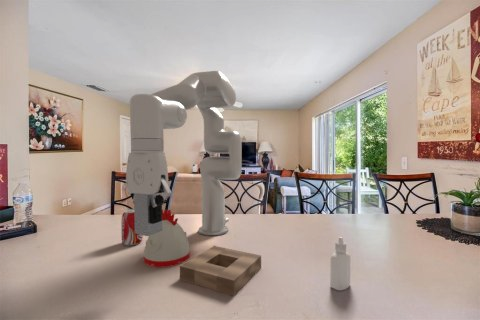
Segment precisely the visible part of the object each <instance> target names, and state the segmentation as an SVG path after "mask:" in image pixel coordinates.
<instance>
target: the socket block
mask: <svg viewBox="0 0 480 320" xmlns="http://www.w3.org/2000/svg"><path fill="white" fill-rule="evenodd" d="M261 269H262V255H261V254H256V253H251V252H247V251H243V250H241V251H240V250H236V249H231V248H226V247H221V246H217V245H213V246H212V247H210V248H208V249H207V250H205V251H203V252H202V253H201V252H200V253H199V254H197V255H196V256H194V257H192V258H191V259H188V260H186V261H185V262H183V263H181V264H180V265H179V280H181V281H183V282H188V283H190V284H193V285H197V286H201V287H203V288H207V289H210V290H214V291H217V292H219V293H224V294H226V295H229V296H233V297H234V296H236V295H237V293H239V292H240V291H241V289H242V288H243V287H245V286H246V284H247V283H248V282H249V281H250V280H251V279H252V278H253V277H254V276H255V275H256V274H257V273H258V272H259V270H261Z"/></svg>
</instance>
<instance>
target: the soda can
mask: <svg viewBox="0 0 480 320" xmlns="http://www.w3.org/2000/svg"><path fill="white" fill-rule="evenodd" d="M143 237H144V235H140V234H136V233H135V216H134V208H129V209H125V210H123V213H122V214H121V243H122V245H125V246H128V247H132V246H137V245H139V244H140V243H141V242H143Z"/></svg>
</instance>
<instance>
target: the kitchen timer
mask: <svg viewBox="0 0 480 320" xmlns="http://www.w3.org/2000/svg"><path fill="white" fill-rule="evenodd" d="M174 218H175V213H173V214H172V210H171V209H167V208H166V209H164V210H163V208H162V231H160V232H158V233H155V234H153V235H150V236H147V239H146V240H145V245H144V247H145V248H144V249H143V262H144V264H146V265H148V266H150V267H154V268H165V267H166V268H167V267H173V266H177V265H179V264H180V265H181V264H184V263H185V262H187V261H188V260H189V258H190V257H191V252H190V251H191V248H190V244H189V240H188V237H187V232H186V231H184V229H183V227H182V226H181V225H180V224H179V223H178V220H179V218H175V219H174Z"/></svg>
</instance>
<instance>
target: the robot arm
mask: <svg viewBox="0 0 480 320" xmlns="http://www.w3.org/2000/svg"><path fill="white" fill-rule="evenodd" d="M236 101H237V95H236V90H235V88H234V86H233V85H232V83H231V82H230V80H229V78H227V77H226V76H225V74H224V73H223V72H221V71H218V70H211V71H209V70H208V71H199V72H193V73H191V74H189V75H188V76H186V77H185V78H184V79H183V80H181V81H180V82H178V83H177V84H175V85H172V86H169V87H166V88H164V89H162V90H159V91H155V92H153V93H152V94H148V93H138V94H137V93H136V94H134V95H132V96H130V100H129V121H130V122H129V126H130V131H129V132H130V152H129V153H128V157H127V160H126V162H127V163H126V174H125V189H126V192H127V193H128V194H129V196H130V198H132V203H133V205H134V194H143V195H150V198H151V203H152V207H150V223H151V224H154V223H157V222H160V221H162V209H163V206H164V205H165V202H166V201H167V200H168V198H170V196H172V194H173V193H172V191H171V189H170V186H169V172H168V163H167V161H168V160H167V156H166V153H165V152H164V150H165V149H164V144H165V143H164V142H165V141H164V140H165V139H164V130H172V129H173V130H174V129H180V128H181V127H183V126H184V125H185V123H186V121H187V119H188V118H187V117H188V115H187V114H188V113H187V110H191V109H193V108H195V107H197V109H198V110H199V112H200V114H201V116H202V120H203V148H204V150H205V152H206V153H209V154H228V155H229V156H206V157H204V158H203V159H201V161H200V164H199V171H200V177H201V186H202V187H201V190H202V191H201V195H202V196H201V198H202V199H201V202H202V203H201V211H202V212H201V217H202V218H201V226H200V227H198V231H197V232H198V233H199V234H201V235H202V236H219V235H224V234H226V233H228V232H229V227H228V226H226V224H227V223H229V221H230V219H229V217H225V215H226V211H225V210H226V209H225V208H226V207H225V206H226V201H225V200H226V196H225V194H226V193H225V192H226V190H225V186H224V184H222V183H223V182H221V180H227V181H228V180H229V181H231V180H233V181H234V180H238V179H239V178H240V177H241V175H242V169H243V168H242V167H243V166H242V164H243V162H242V159H243V157H242V154H243V153H242V150H243V149H242V148H243V146H242V145H243V144H242V137H241V135H240V133H239V132H238V131H236V130H225V118H224V116H222V113H220V111H219V109H223V108H231V107H234V105H235V104H236ZM156 192H158V193H156ZM157 195H158V198H157V200H156V196H157Z"/></svg>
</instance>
